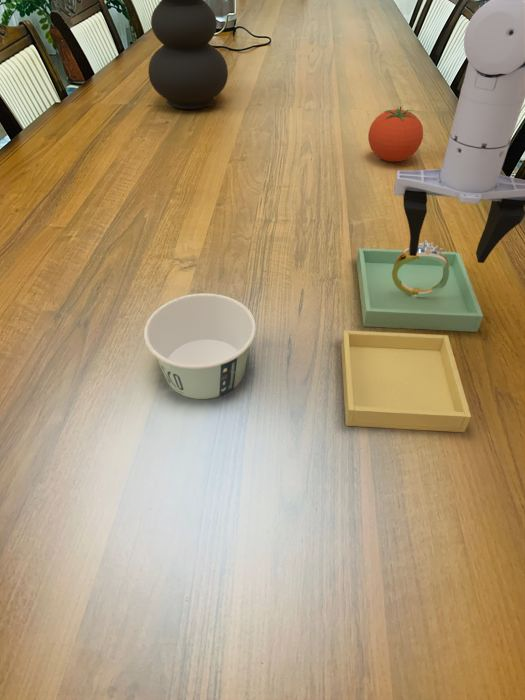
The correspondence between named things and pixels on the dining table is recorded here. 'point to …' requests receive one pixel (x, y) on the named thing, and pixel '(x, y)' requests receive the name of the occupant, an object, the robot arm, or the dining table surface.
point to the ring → (423, 252)
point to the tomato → (395, 135)
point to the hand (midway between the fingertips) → (445, 254)
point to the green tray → (422, 312)
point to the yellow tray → (402, 382)
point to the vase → (186, 54)
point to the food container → (201, 343)
